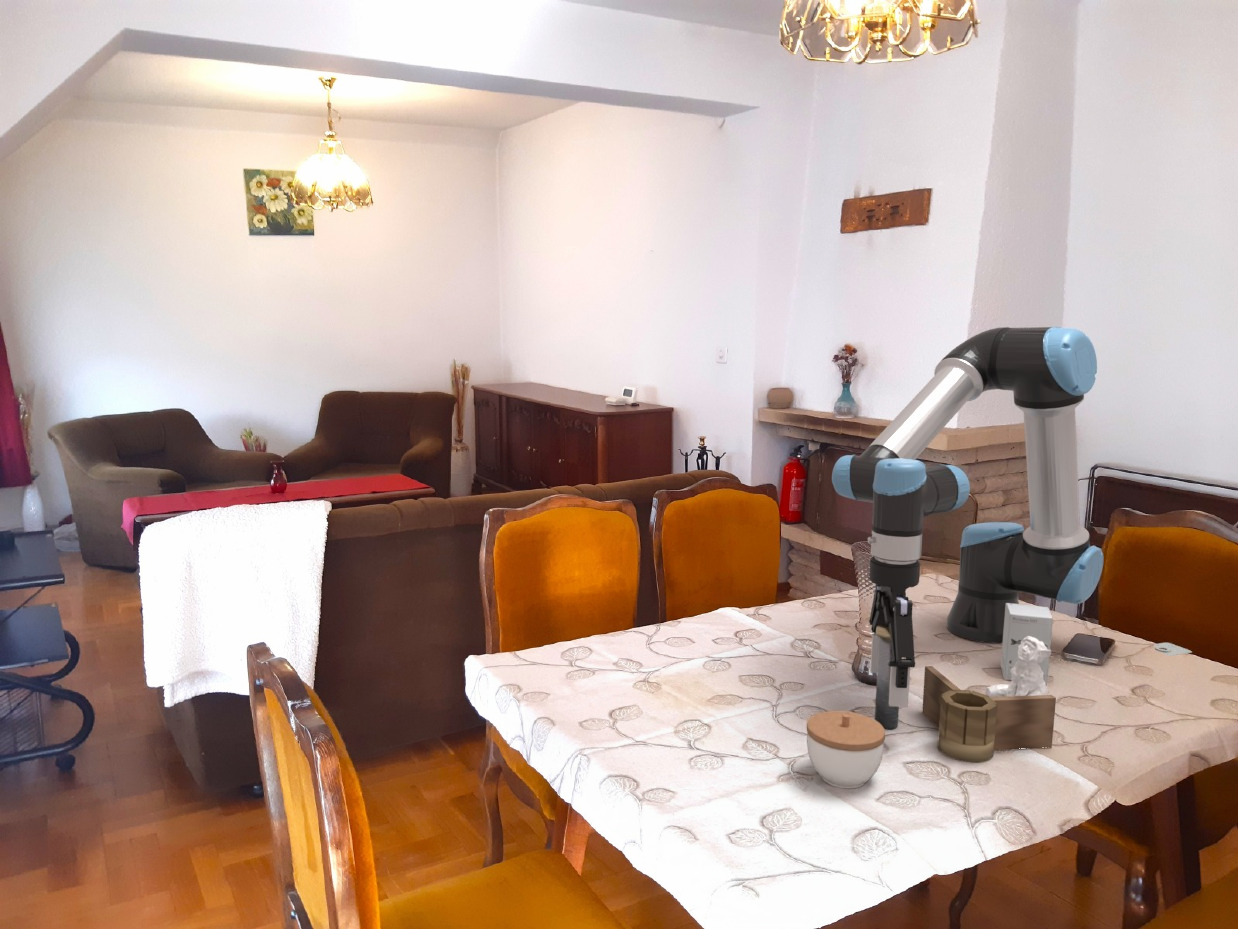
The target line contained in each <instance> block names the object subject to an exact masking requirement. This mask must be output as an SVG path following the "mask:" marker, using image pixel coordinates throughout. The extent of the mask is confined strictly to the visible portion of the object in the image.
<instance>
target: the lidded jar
mask: <svg viewBox="0 0 1238 929" xmlns="http://www.w3.org/2000/svg"><path fill="white" fill-rule="evenodd" d="M885 730H886V729H884V728H883V726H882V725H881V724H880V723H879V722H877V721H876V720H875V718H872V717H870V716H867V715H865V714H860V713H857V712H853V711H845V710H828V711H822V712H821V711H820V712H818V713H815V714H814V715H812V716H810V717H809V718H808V719H807V720H806V744H807V746H806V747H807V753H808V757H809V761H810V762H811V764H812V767H813V769H815V771H816V772H817V773H818V774H819V775H820V777H821V779H822V780H823V781H824V782H825V783H826V784H828V785H830V786H832V787H835V788H839V789H845V790H847V789H848V790H850V789H851V790H852V789H854V790H855V789H859V788H861V787H863V786H864V785H865V784H866V782H867V781H869V780H870V779H872V778H873V777H874V776H875V774H876V773H877V771H878V769H879V768H880V766H881V762H882V760H883V759H882V758H883V754H884V748H885V747H884V746H885V739H886V731H885Z"/></svg>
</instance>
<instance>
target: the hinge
mask: <svg viewBox="0 0 1238 929" xmlns="http://www.w3.org/2000/svg"><path fill="white" fill-rule="evenodd" d="M933 666H934V665H927V666H924V677H923V678H924V680H923V691H922V692H923V694H922V696H923V697H922V708H921V711H922V712H921V713H922V714H923V715H925V716H926V718H928V719H929V720H930V721H931V722H932V723H933V724H934V725H935V726H936V727H937V728H938V742H937V744H938V745H937V748H938V750H939V751H940V752H941V753H943V754H944V755H945V756H947V757H948V758H952V759H954V760H957V761H960V762H961V761H962V762H967V763H984V762H987V761H990V760H991V759H993V757H994V753H995V752H994V751H1012V749H1017V750H1022V749H1021V748H1026V749H1025V750H1028V749H1027V748H1038V749H1049V748H1048V747H1052V748H1053V737H1054V726H1055V715H1056V713H1055V712H1056V705H1057V704H1056V702H1057V699H1056V697H1055V695H1052V694H1048V695H1034V696H1009V697H989V696H988V695H986V694H985V693H981V692H977V691H975V690H970V689H969V690H968V689H960V688H959V687H958V686H957V685H956V684H954V683H953V681H951V680H949V678H947V677H946V676H945V675H944V674H942V673H941V672H940V671H939V670H938V669H936V668H935V667H933ZM1042 747H1044V748H1042ZM1045 747H1047V748H1045ZM1019 748H1020V749H1019Z"/></svg>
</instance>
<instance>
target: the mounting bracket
mask: <svg viewBox="0 0 1238 929" xmlns="http://www.w3.org/2000/svg"><path fill="white" fill-rule="evenodd" d="M1152 645H1153V646H1154V650H1156V651H1157V652H1160V653H1164V654H1165V655H1166V656H1167V657H1170V656H1171V657H1172V656H1178V655H1185V654H1192V653H1193V651H1191V650H1189V649H1188V648H1184V647H1181V646H1179V645H1176V644H1173V643H1172V642H1160V643H1154V644H1152ZM1157 645H1159V646H1157ZM1160 646H1162V647H1160ZM1174 650H1176V651H1174Z"/></svg>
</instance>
